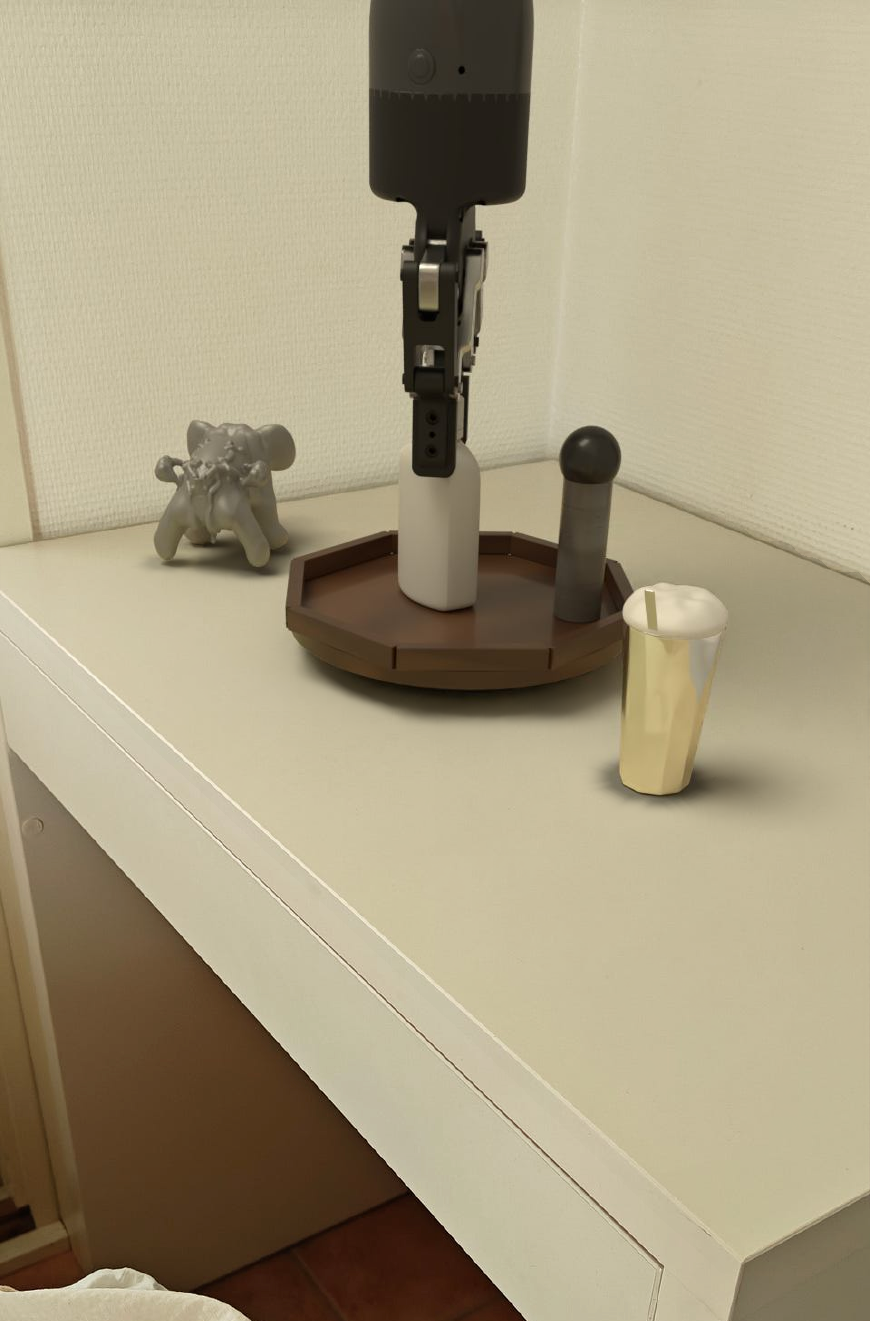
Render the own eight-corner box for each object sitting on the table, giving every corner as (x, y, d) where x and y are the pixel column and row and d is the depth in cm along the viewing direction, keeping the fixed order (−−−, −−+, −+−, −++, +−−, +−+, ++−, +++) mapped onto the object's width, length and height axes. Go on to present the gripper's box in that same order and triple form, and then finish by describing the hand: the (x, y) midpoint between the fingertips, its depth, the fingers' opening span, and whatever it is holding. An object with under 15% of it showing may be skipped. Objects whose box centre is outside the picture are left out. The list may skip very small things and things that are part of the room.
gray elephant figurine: (153, 577, 85) (141, 450, 81) (164, 519, 95) (154, 404, 91) (300, 575, 86) (296, 450, 82) (297, 519, 96) (293, 404, 92)
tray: (696, 623, 77) (724, 421, 71) (477, 723, 65) (488, 492, 59) (446, 545, 87) (451, 363, 81) (218, 620, 75) (204, 414, 69)
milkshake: (579, 791, 63) (600, 578, 57) (632, 750, 66) (656, 546, 61) (669, 819, 61) (699, 602, 55) (718, 775, 64) (751, 567, 59)
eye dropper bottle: (473, 579, 79) (481, 358, 72) (477, 614, 74) (486, 381, 67) (397, 578, 79) (399, 356, 72) (397, 613, 74) (398, 379, 67)
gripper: (520, 90, 56) (499, 504, 66) (540, 80, 68) (520, 432, 78) (342, 84, 57) (347, 495, 67) (392, 75, 69) (390, 425, 79)
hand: (440, 459), depth 72 cm, fingers closed on eye dropper bottle, 5 cm apart
